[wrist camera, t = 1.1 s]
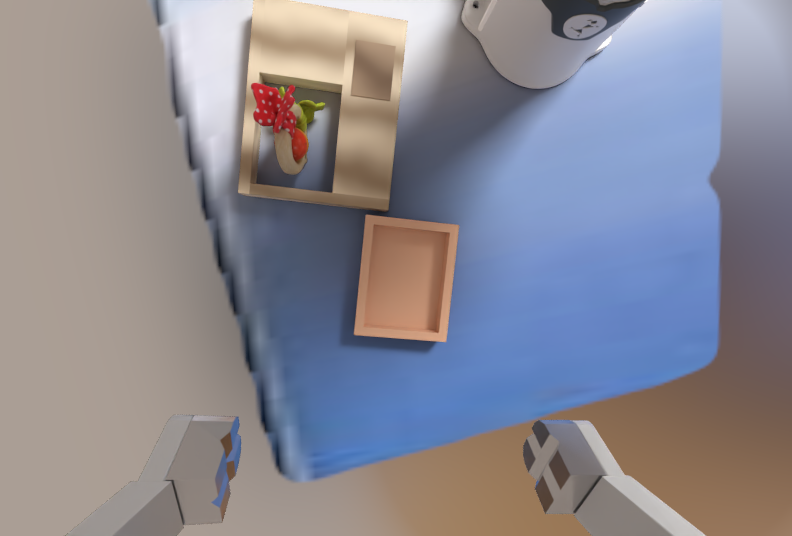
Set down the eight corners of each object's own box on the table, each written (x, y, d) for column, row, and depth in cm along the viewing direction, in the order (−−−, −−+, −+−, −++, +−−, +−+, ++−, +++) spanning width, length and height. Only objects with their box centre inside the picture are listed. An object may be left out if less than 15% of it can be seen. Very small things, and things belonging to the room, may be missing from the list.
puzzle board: (260, 8, 42) (253, -7, 40) (404, 33, 44) (407, 20, 42) (244, 195, 44) (237, 192, 41) (386, 211, 45) (388, 209, 43)
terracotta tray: (365, 216, 45) (365, 214, 43) (453, 226, 46) (459, 225, 44) (354, 330, 46) (353, 334, 43) (441, 336, 47) (446, 342, 45)
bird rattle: (329, 163, 46) (324, 82, 42) (322, 187, 37) (315, 84, 32) (278, 163, 46) (268, 81, 42) (256, 187, 36) (241, 83, 32)
